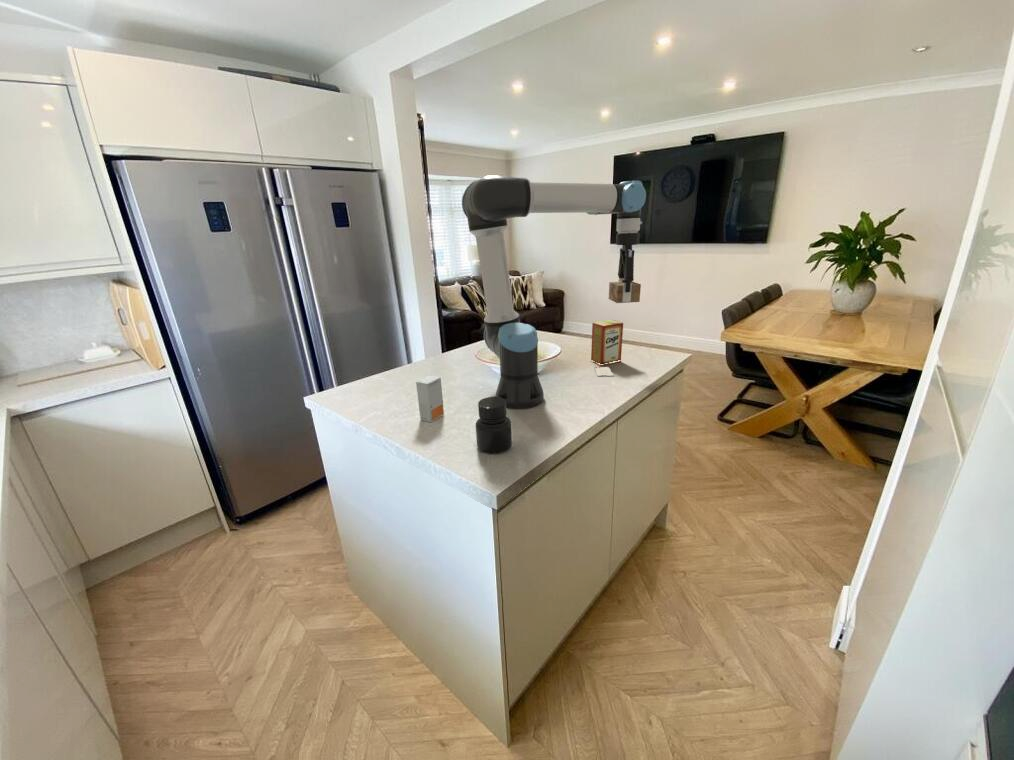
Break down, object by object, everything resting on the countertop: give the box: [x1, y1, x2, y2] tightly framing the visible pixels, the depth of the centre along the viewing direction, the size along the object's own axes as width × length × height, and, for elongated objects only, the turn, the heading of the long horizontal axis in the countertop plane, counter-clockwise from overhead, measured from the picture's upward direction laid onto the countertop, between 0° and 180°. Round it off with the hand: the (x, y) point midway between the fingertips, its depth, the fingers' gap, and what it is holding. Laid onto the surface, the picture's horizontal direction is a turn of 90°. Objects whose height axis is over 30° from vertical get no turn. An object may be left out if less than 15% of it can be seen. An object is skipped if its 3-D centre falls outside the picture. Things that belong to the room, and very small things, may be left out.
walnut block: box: [608, 281, 642, 304], centre depth 141 cm, size 9×8×6 cm
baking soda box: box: [590, 319, 624, 364], centre depth 156 cm, size 10×6×16 cm
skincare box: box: [415, 375, 445, 423], centre depth 115 cm, size 6×4×12 cm
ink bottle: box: [475, 396, 513, 455], centre depth 98 cm, size 10×9×12 cm
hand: (623, 299), depth 142 cm, fingers closed on walnut block, 10 cm apart
